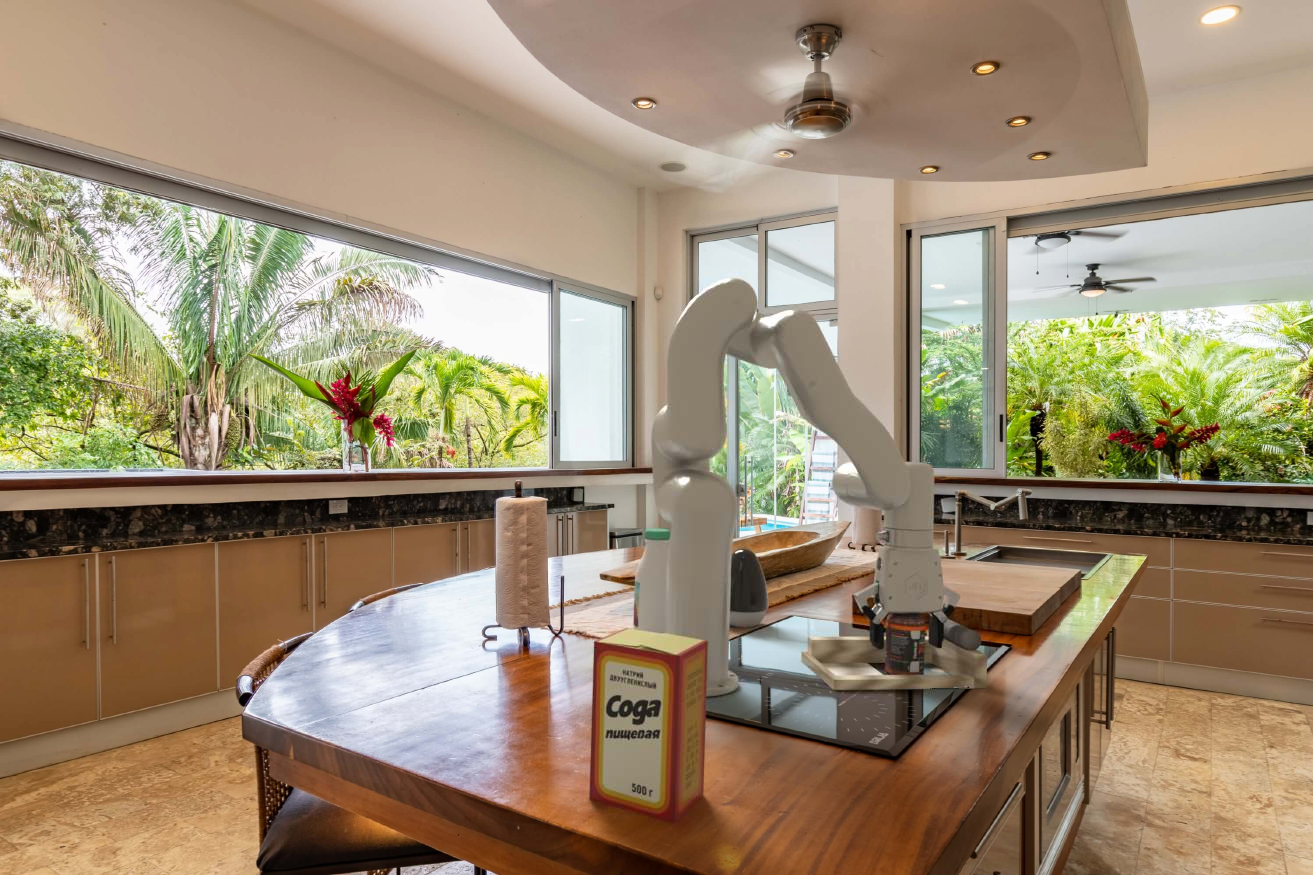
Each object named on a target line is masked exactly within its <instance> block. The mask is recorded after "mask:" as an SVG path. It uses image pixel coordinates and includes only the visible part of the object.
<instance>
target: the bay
mask: <svg viewBox="0 0 1313 875" xmlns="http://www.w3.org/2000/svg"><path fill="white" fill-rule="evenodd" d="M947 619H948V620H947V622H946V623H944V640H943V642H942V648H936V647H934V646H933V645H931V644H929V642H928V636H929V630H926V635H925V654H924V664H932V665H934V666H936V667H937V668H939V669H941V670H942V671H944V672H945V673H947V674H923V675H891V674H883V673H881V672H880V671H879V670H877V669H876V668H874V667H873V666H871V664H869V663H885V648H886V636H884V648H883V649H878V648H876V647H874V646H873V645H872V642H871V641H870V636H807V647H806V648H807V651H801V659H800V660H801V662H802V663H803V664H804V665H807V666H806V667H808V668H809V670H811V671H812V672H813V673H814V674H816V676H818V677H819V678H820V679H821V680H822V681H824V683H825V684H827V685H828V687H830V689H832V690H834V691H859V690H860V691H862V690H863V691H865V690H866V691H868V690H870V691H871V690H878V691H879V690H933V689H932V688H954V687H965V686H967V687H969V688H968V689H987V681H988V680H987V677H988V676H987V675H988V673H987V670H988V654H986V653H984V652H982V651H980V650H978V649H979V648H980V646H981V644H982V637H981V634H980V633H978V632H977V631H975V630H973V629H971V628H970V627H969V628H968V627H966V626H964V625H962V624H960V623H957V622H955V621H954V620H951V619H949V618H947ZM930 688H931V689H930Z"/></svg>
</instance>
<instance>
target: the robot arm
mask: <svg viewBox="0 0 1313 875" xmlns="http://www.w3.org/2000/svg"><path fill="white" fill-rule="evenodd" d="M757 296H758V295H757V293H756V291H755V289H754V288H753V287H752V285H751V284H750V283H749V282H747V281H745V280H744V279H741V278H736V277H735V278H734V277H729V278H724V279H721V280H718V281H716V282H714V283H712V284H711V285H710V286H708V287H707V288H705V289H703V290H702V291H701V292H699V293H698V294H696V295H695V296H694V297H693V298H692V299H691V300H690V301H689V303H688V304H687V306H686V308H685V309H684V310H683V312H682V313H681V315H680V316H679V318H678V319H677V322H676V324H675V325H674V328H673V330H672V332H671V336H670V339H669V343H668V348H667V356H666V405H664V406H663V407H662V408H661V409H660V410H659V412H657V414H656V415H655V418H654V420H653V423H652V429H651V433H650V434H651V435H650V436H651V440H650V441H651V442H650V443H651V446H650V447H651V463H652V465H651V466H652V481H653V483H652V484H653V495H654V502H655V506H656V509H657V511H658V513H659V515H660V516H661V518H663V520H664V521H666V522H667V523H668V524H670V525H671V528H670V540H669V545H668V555H667V587H666V621H665V633H667V634H672V635H678V636H683V637H689V638H694V639H700V640H705V641H708V652H707V687H706V697H716V696H721V695H727V694H729V693H732V692H734V691H735V690H737V689H738V687H739V677H738V675H737V674H736V673H735V672H733V671H732V670H729V651H730V626H731V625H730V590H731V556H732V554H733V543H734V536H735V531H736V526H737V519H738V501H737V500H738V499H737V495H736V493H735V491H734V489H733V487H732V486H731V484H730V483H729V482H728V481H727V480H726V479H725V478H724V477H722V476H721V475H720V474H719V473H716V472H713V471H711V470H710V468H711V466H710V459H713V458H714V457H716V456H717V455H718V454H719V453H721V451H722V450H723V448H724V446H725V444H726V442H727V433H728V431H727V430H728V429H727V428H728V427H727V418H726V417H727V415H726V401H725V400H726V399H725V398H726V397H725V363H726V361H725V360H726V356H729V357H732V358H735V359H737V360H739V361H743V362H744V363H745V362H746V363H748V364H752V365H754V366H758V367H760V368H764V369H771V370H772V369H775V370H776V369H777V370H778V373H779V375H780V376H781V378H782V380H783V382H784V385H785V386H786V388H787V390H788V392H789V395H790V396H791V399H792V401H793V403H794V405H795V406H796V408H797V410H798V412H799V414H800V416H801V417H802V418H803V419H804V420H805V421H806V422H807V423H808V424H810V425H811V426H812V427H814V428H816V430H818V431H820V432H821V433H823V434H825V435H826V436H828V437H829V438H831V439H832V440H833V441H834V442H835V443H836V444H837V445H838V446H839V447H840V448H841V450H843V452H844V453H845V455H846V456H847V457H848V458H849V459H850V460H849V461H846V462H844V463H842V464H841V465H840V466H839V467H838V468H836V470H835V471H834V474H833V475H832V481H831V484H832V489H833V492H834V494H835V496H836V497H837V498H838V499H839V500H841V502H843V503H845V504H847V505H849V506H851V507H855V508H856V507H857V508H862V509H863V508H864V509H871V510H876V511H883V527H882V530H881V531H876V533H875V540H876V541H881V542H882V544H883V546H880V547H879V550H878V554H877V558H876V563H875V569H874V578H873V583H872V584H870V585H869V586H866V587H865V588H863V589H861V590H859V591H857V592H855V593H854V594H853V597H854V600H855V602H856V604H857V606H858V608H859V610H860V612H861V613H862V614H863V615H864V616H865V618H866V619H867V620H868V621H869V637H870V641H871V642H872V645H873V646H874V647H876V648H878V649H883V648H884V637H885V624H884V623H882V621H883V619H885V617H886V616H888V615H889V613H890V614H892V613H919V614H929V616H931V618H929V620H928V631H929V636H928V642H929V644H931V645H933V646H934V647H936V648H942V642H943V640H944V623H946V622H947V620H948V619H949V618H950V617H951V615H952V614H953V613H954V612H955V610H956V609H955V608H956V607H957V605H958V603H959V601H960V599H961V595H960V594H959V593H957V592H956V591H954V590H952V589H950V588H949V587H947V586H945V585H944V575H943V567H942V562H941V561H942V560H941V557H940V551H939V548H935V547H934V517H935V516H934V513H935V512H934V511H935V509H934V507H935V505H934V504H935V503H934V502H935V470H934V468H933V466H932V465H930V463H926V462H920V461H919V462H917V461H916V462H915V461H905V460H904V458H903V456H902V453H901V451H900V449H899V448H898V445H897V443H896V441H895V440H894V438H893V437H892V435H891V434H890V432H889V431H888V430H887V428H886V427H885V425H884V424H883V423H882V422H881V421H880V419H878V418H877V416H875V415H874V414H873V412H872V411H871V410H870V409H869V408H868V406H866V405H865V404H864V402H862V401H861V400H860V399H859V398H858V397H857V396H856V395H855V394H854V392H853V391H852V390H851V388H850V385H849V384H848V382H847V380H846V377H845V375H844V374H843V372H842V370H841V368H840V366H839V363H838V361H837V360H836V358H835V355H834V353H833V351H832V349H831V347H830V346H829V343H828V341H827V339H826V337H825V335H824V333H823V331H822V329H821V327H820V325H819V324H818V322H817V321H816V319H815V318H814V316H812V315H811V313H809V312H807V311H805V310H802V309H788V310H784V311H781V312H778V313H775V314H773V315H767V314H765V313H761V312H758V308H759V306H758V303H759V302H758V297H757ZM871 597H873V603H874V605H873V606H872V608H871V607H870V605H869V603H868V602H867V600H868V599H869V598H871ZM945 597H946V601H945Z"/></svg>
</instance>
